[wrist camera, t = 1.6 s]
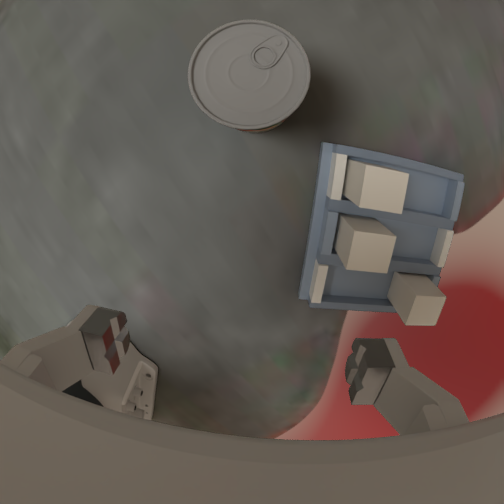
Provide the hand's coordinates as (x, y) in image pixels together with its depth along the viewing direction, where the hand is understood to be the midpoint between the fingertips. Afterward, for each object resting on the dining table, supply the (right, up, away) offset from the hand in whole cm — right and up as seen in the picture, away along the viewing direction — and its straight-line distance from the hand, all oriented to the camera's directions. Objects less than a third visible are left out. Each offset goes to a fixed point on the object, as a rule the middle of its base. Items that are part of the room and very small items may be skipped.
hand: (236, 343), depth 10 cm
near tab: (+12, +10, +18) cm, 24 cm away
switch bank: (+15, +5, +21) cm, 26 cm away
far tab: (+18, -1, +22) cm, 29 cm away
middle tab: (+11, +5, +20) cm, 23 cm away
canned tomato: (+1, +19, +17) cm, 25 cm away
